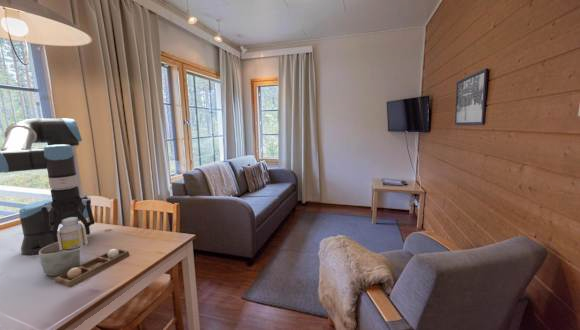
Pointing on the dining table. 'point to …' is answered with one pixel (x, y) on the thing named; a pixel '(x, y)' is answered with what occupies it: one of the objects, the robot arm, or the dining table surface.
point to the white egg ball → (112, 253)
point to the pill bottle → (72, 234)
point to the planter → (58, 259)
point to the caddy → (91, 268)
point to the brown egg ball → (74, 272)
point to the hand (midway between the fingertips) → (74, 245)
